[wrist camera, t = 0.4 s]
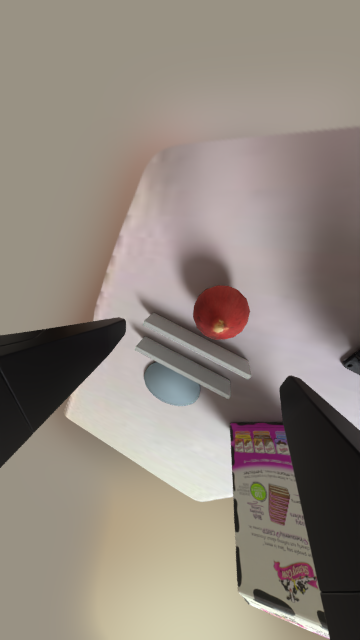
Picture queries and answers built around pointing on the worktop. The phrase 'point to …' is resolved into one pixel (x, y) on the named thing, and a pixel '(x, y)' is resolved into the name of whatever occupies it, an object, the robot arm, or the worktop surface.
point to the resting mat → (170, 385)
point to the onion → (221, 312)
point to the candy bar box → (272, 529)
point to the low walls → (195, 345)
